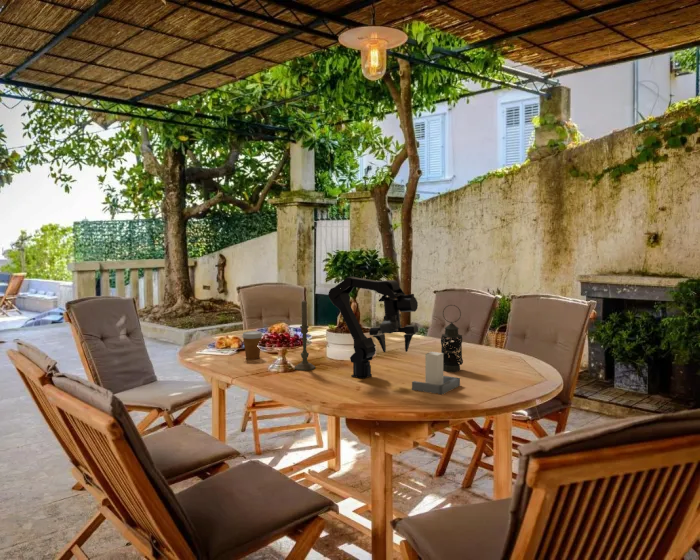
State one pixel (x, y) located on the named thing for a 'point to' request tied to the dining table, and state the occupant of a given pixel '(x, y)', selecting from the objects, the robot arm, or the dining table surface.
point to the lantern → (451, 347)
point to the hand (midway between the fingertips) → (395, 351)
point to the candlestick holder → (304, 341)
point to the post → (434, 368)
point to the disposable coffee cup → (252, 344)
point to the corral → (447, 385)
